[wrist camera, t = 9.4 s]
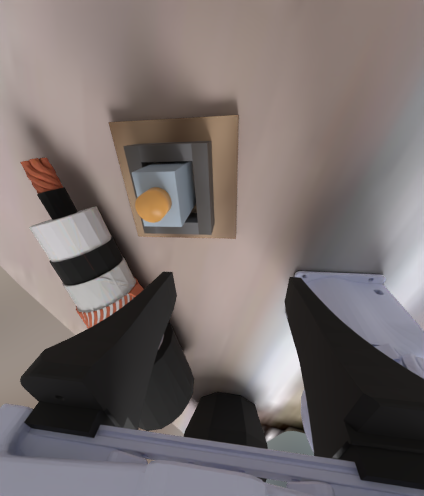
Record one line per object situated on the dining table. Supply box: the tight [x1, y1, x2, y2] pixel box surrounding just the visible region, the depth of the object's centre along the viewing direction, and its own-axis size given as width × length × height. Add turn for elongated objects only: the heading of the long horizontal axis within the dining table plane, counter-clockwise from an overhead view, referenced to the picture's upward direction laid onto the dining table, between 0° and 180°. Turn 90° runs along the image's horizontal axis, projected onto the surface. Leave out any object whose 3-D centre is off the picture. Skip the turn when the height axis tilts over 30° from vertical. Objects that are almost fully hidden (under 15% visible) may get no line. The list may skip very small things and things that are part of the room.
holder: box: [109, 115, 239, 239], centre depth 19 cm, size 11×11×4 cm
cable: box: [21, 158, 194, 431], centre depth 25 cm, size 10×34×10 cm, turn 16°
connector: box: [132, 161, 196, 227], centre depth 16 cm, size 3×4×7 cm
